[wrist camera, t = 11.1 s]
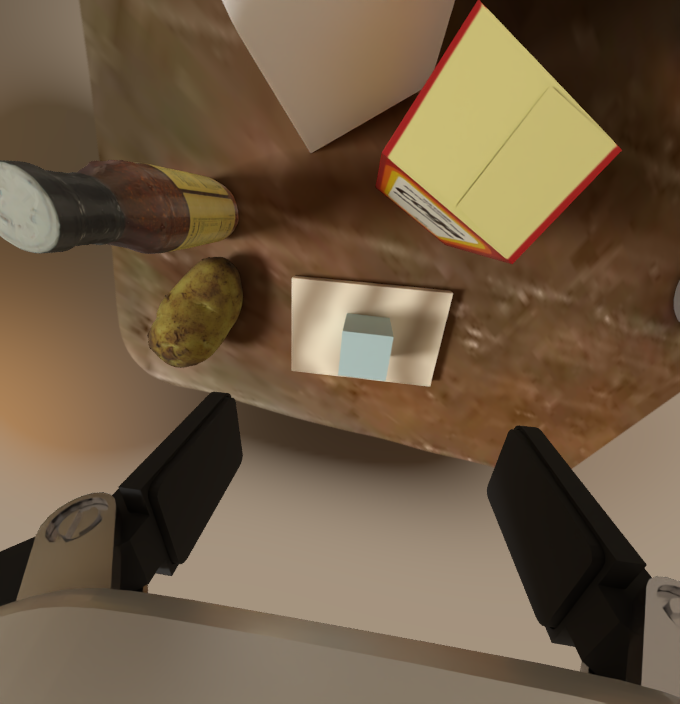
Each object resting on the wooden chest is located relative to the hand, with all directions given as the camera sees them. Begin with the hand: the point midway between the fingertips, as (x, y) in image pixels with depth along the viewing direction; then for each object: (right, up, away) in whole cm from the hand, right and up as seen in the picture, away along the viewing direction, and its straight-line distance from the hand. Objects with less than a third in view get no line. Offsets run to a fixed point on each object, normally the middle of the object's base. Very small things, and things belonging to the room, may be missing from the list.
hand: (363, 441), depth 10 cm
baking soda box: (+9, +20, +19) cm, 28 cm away
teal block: (+2, +5, +24) cm, 25 cm away
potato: (-16, +9, +26) cm, 32 cm away
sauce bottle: (-15, +19, +21) cm, 32 cm away
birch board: (+2, +6, +25) cm, 26 cm away
